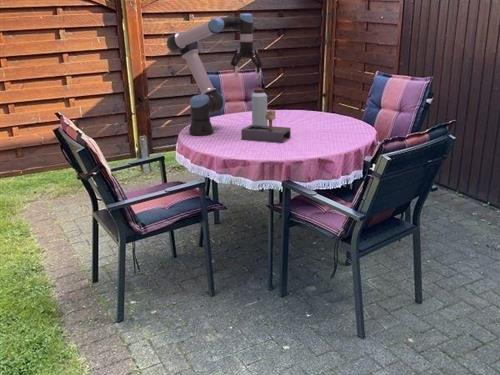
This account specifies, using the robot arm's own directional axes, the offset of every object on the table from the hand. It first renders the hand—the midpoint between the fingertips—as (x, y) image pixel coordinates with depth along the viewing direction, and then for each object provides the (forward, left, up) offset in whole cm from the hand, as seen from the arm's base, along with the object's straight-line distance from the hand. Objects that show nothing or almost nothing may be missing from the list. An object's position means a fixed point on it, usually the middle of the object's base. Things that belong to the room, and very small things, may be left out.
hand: (246, 77), depth 307 cm
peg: (+19, -9, -34) cm, 40 cm away
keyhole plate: (+16, -9, -34) cm, 39 cm away
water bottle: (+2, +15, -34) cm, 38 cm away
